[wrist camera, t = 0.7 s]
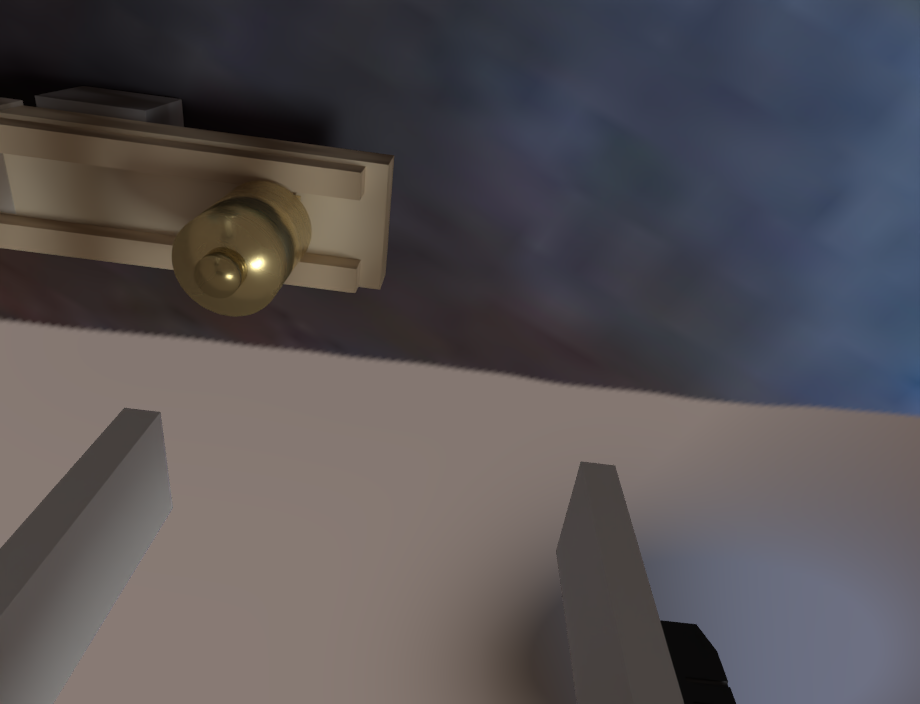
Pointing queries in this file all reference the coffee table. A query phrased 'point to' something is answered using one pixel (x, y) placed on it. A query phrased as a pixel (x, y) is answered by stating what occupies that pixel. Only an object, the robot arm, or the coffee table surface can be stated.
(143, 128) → the stand
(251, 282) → the rider
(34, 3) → the coffee table surface
